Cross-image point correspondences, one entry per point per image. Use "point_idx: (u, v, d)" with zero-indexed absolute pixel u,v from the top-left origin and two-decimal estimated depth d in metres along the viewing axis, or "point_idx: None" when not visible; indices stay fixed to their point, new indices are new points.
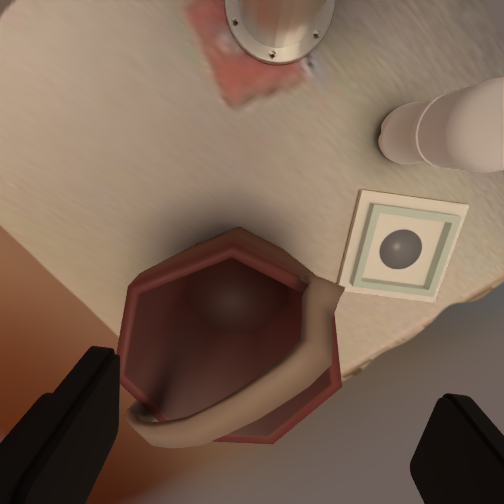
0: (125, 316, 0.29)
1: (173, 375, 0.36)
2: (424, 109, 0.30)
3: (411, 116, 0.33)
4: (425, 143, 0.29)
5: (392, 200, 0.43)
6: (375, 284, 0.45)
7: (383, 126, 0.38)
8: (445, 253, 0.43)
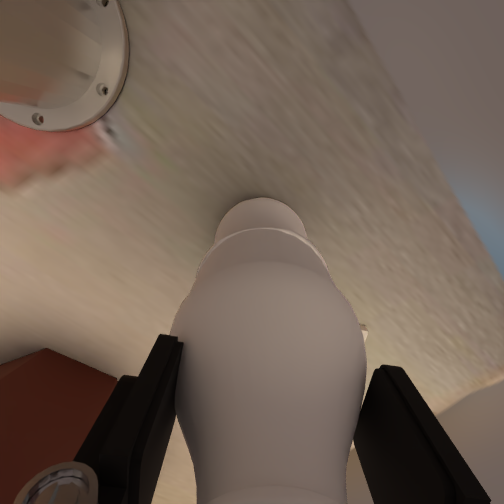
0: None
1: None
2: (204, 256, 0.16)
3: None
4: None
5: None
6: None
7: None
8: None
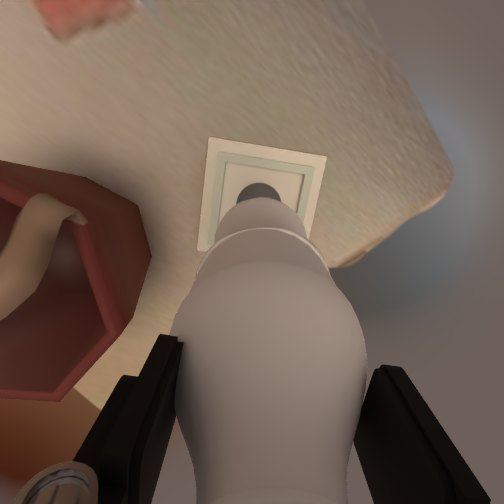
0: None
1: None
2: (204, 256, 0.16)
3: None
4: None
5: (243, 149, 0.39)
6: None
7: None
8: (302, 209, 0.40)
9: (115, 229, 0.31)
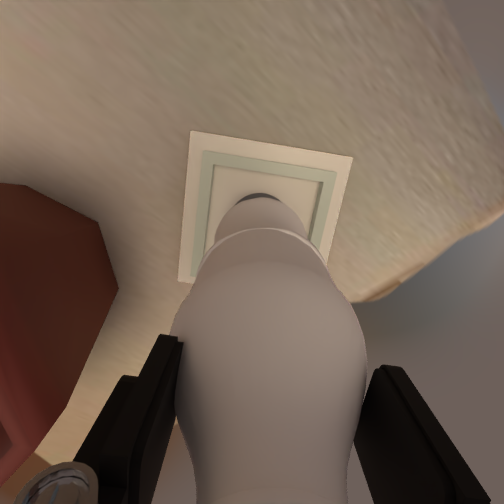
0: None
1: None
2: (204, 256, 0.16)
3: None
4: None
5: (237, 147, 0.29)
6: None
7: None
8: (318, 229, 0.29)
9: (39, 270, 0.20)
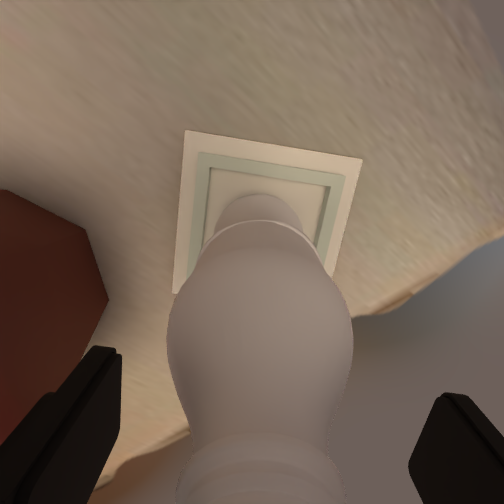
0: None
1: None
2: (203, 247, 0.17)
3: None
4: None
5: (237, 148, 0.26)
6: None
7: None
8: (325, 237, 0.27)
9: (10, 289, 0.17)
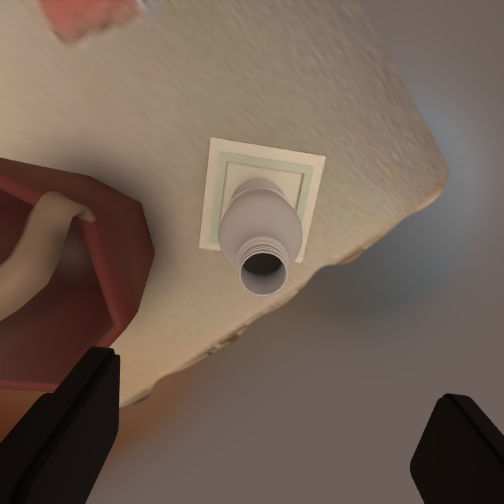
0: None
1: None
2: (229, 203, 0.31)
3: None
4: None
5: (244, 149, 0.40)
6: None
7: None
8: (301, 207, 0.41)
9: (120, 226, 0.32)
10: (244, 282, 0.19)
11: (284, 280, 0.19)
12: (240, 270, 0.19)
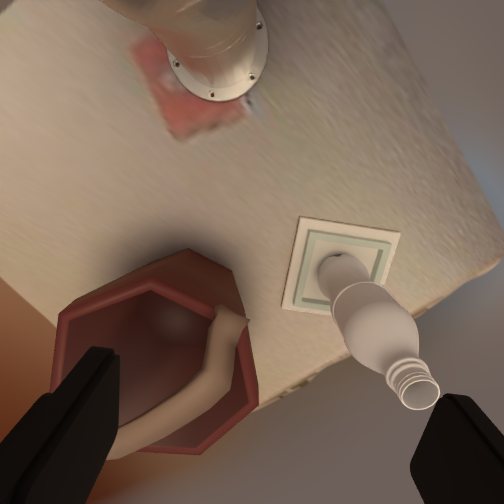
0: (57, 339, 0.32)
1: None
2: (338, 293, 0.36)
3: (334, 285, 0.39)
4: (337, 324, 0.36)
5: (329, 227, 0.46)
6: (314, 304, 0.48)
7: (319, 273, 0.45)
8: (378, 277, 0.47)
9: None
10: None
11: (435, 398, 0.24)
12: (403, 392, 0.24)
